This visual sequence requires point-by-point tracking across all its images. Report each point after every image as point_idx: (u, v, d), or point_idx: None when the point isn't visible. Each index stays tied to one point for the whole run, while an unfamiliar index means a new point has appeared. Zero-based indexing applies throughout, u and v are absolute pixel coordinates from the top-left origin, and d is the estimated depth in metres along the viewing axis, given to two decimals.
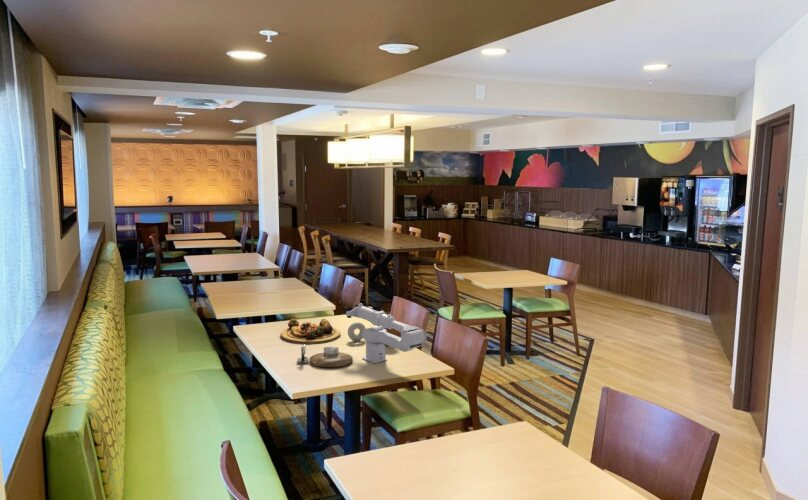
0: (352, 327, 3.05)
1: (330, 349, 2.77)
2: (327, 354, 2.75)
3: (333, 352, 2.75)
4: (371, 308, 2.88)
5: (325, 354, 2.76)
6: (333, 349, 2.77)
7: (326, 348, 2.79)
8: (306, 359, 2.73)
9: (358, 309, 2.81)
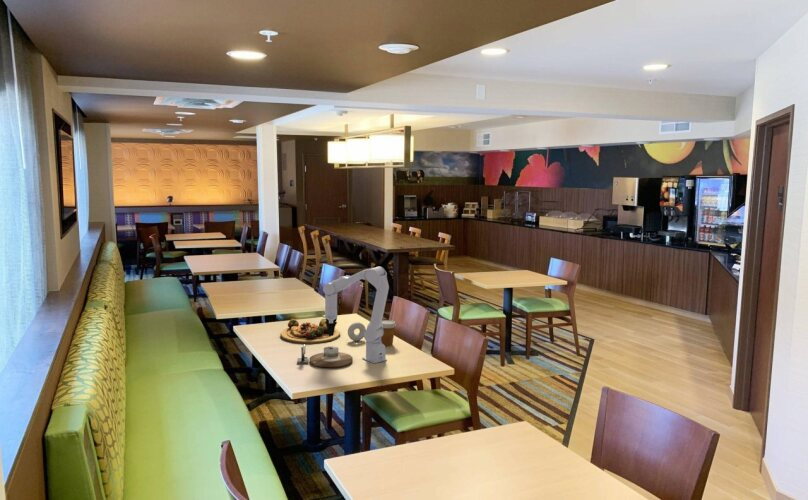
0: (352, 327, 3.05)
1: (330, 349, 2.77)
2: (327, 354, 2.75)
3: (333, 352, 2.75)
4: None
5: (325, 354, 2.76)
6: (333, 349, 2.77)
7: (326, 348, 2.79)
8: (306, 359, 2.73)
9: (327, 314, 2.82)
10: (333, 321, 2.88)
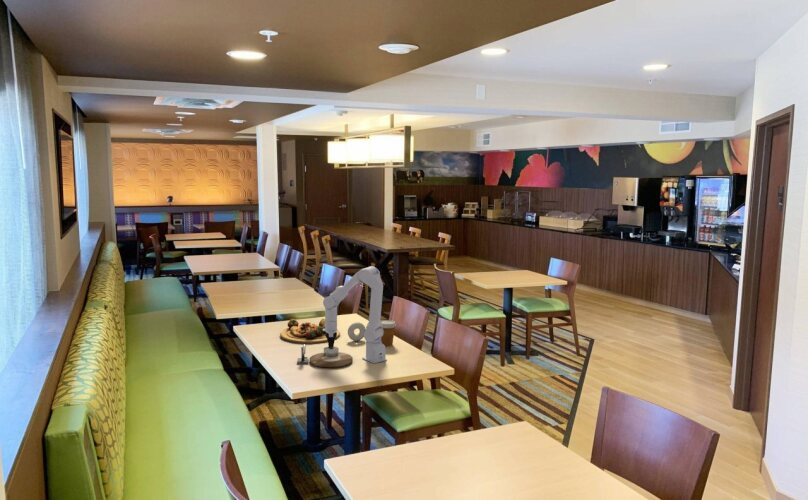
0: (352, 327, 3.05)
1: (330, 349, 2.77)
2: (327, 354, 2.75)
3: (333, 352, 2.75)
4: None
5: (325, 354, 2.76)
6: (333, 349, 2.77)
7: (326, 348, 2.79)
8: (306, 359, 2.73)
9: (327, 328, 2.83)
10: (333, 336, 2.87)
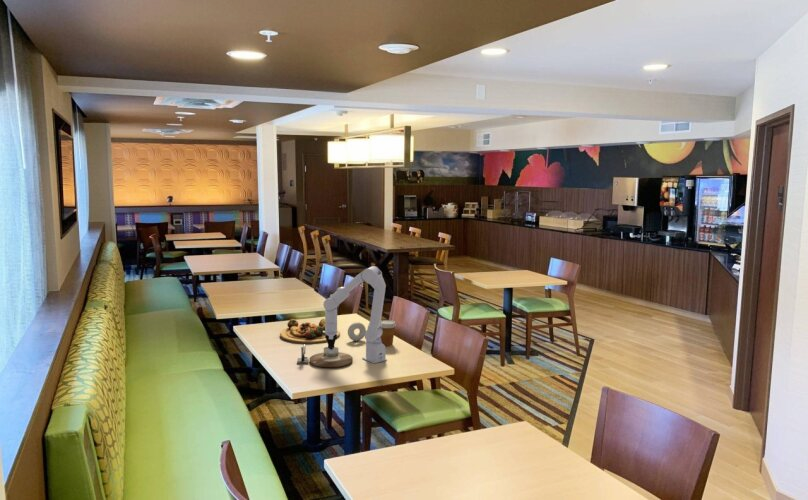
0: (352, 327, 3.05)
1: (330, 349, 2.77)
2: (327, 354, 2.75)
3: (333, 352, 2.75)
4: None
5: (325, 354, 2.76)
6: (333, 349, 2.77)
7: (326, 348, 2.79)
8: (306, 359, 2.73)
9: (327, 330, 2.80)
10: None
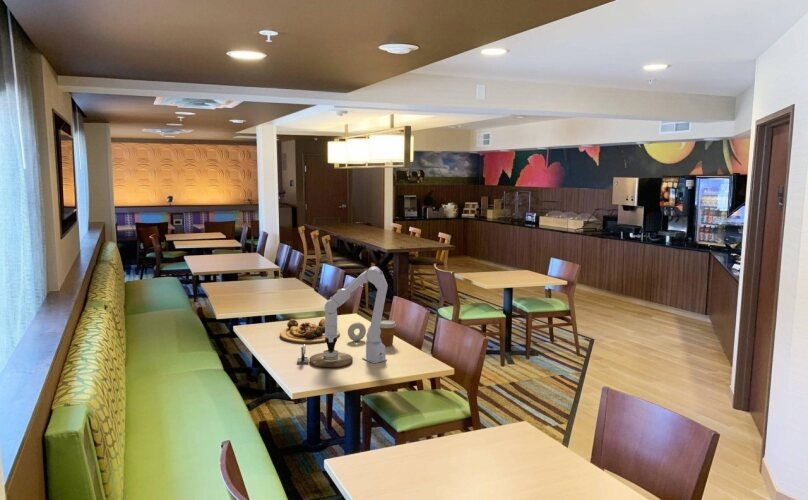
0: (352, 327, 3.05)
1: (330, 352, 2.72)
2: (326, 358, 2.70)
3: (332, 355, 2.70)
4: None
5: (324, 357, 2.71)
6: (333, 352, 2.72)
7: (326, 351, 2.74)
8: (306, 359, 2.73)
9: (327, 333, 2.75)
10: None
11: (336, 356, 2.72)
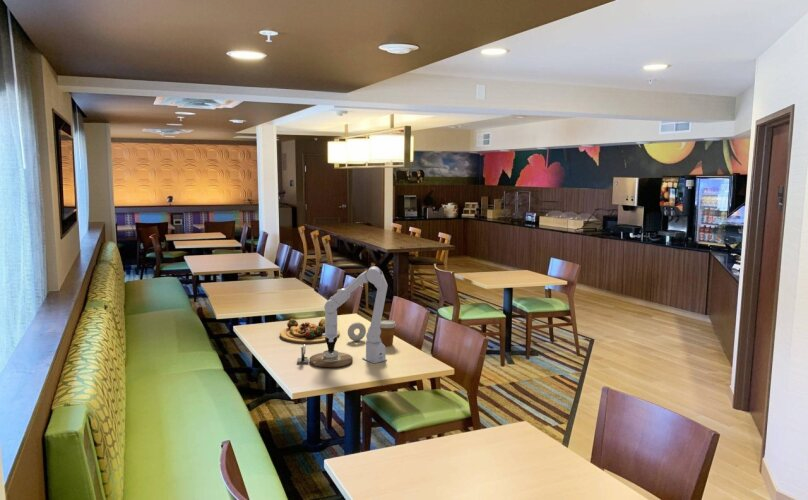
0: (352, 327, 3.05)
1: (329, 353, 2.71)
2: (326, 358, 2.70)
3: (332, 355, 2.70)
4: None
5: (324, 358, 2.71)
6: (333, 353, 2.71)
7: (326, 352, 2.73)
8: (306, 359, 2.73)
9: (327, 332, 2.75)
10: None
11: (336, 356, 2.71)
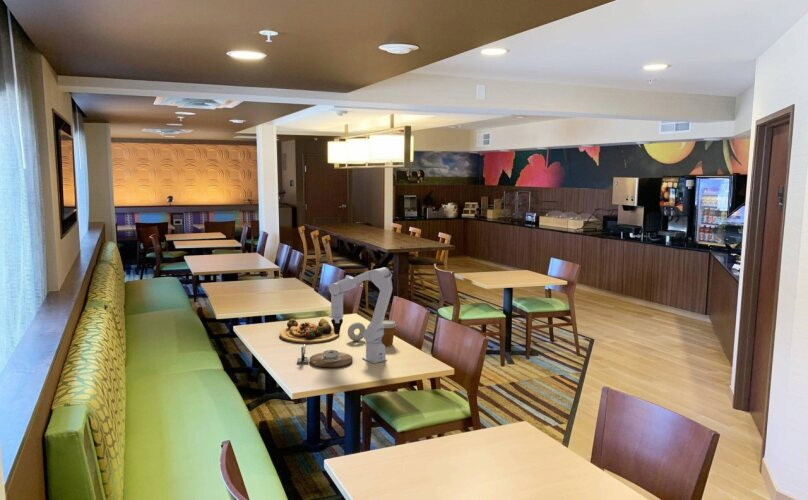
0: (352, 327, 3.05)
1: (329, 353, 2.71)
2: (326, 358, 2.70)
3: (332, 355, 2.70)
4: None
5: (324, 358, 2.71)
6: (333, 353, 2.71)
7: (326, 352, 2.73)
8: (306, 359, 2.73)
9: (333, 314, 2.83)
10: (339, 322, 2.86)
11: (336, 356, 2.71)
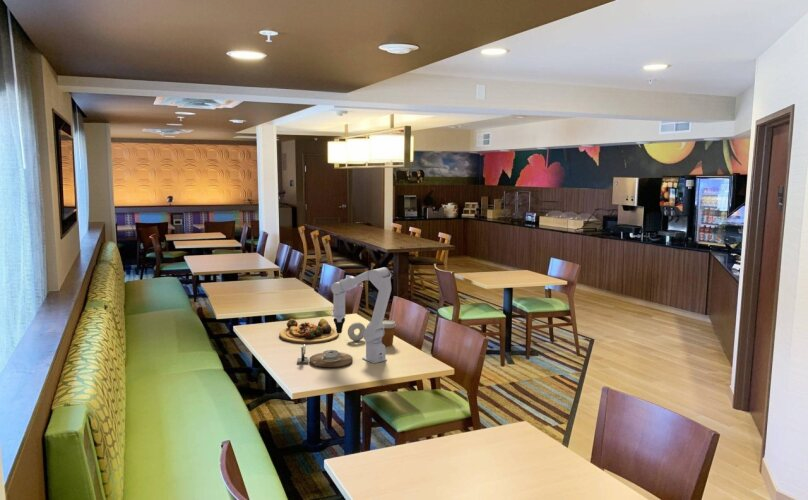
0: (352, 327, 3.05)
1: (329, 353, 2.71)
2: (326, 358, 2.70)
3: (332, 355, 2.70)
4: None
5: (324, 358, 2.71)
6: (333, 353, 2.71)
7: (326, 352, 2.73)
8: (306, 359, 2.73)
9: (335, 313, 2.85)
10: None
11: (336, 356, 2.71)
